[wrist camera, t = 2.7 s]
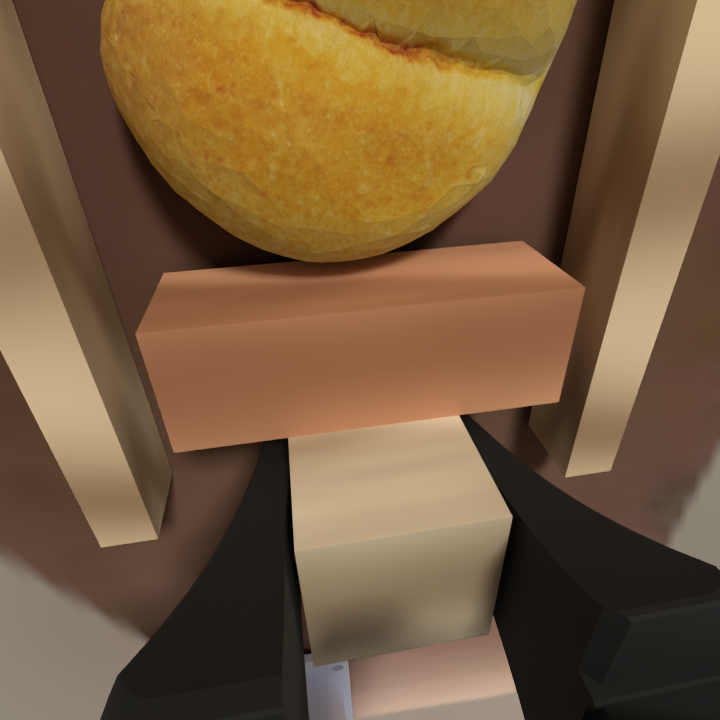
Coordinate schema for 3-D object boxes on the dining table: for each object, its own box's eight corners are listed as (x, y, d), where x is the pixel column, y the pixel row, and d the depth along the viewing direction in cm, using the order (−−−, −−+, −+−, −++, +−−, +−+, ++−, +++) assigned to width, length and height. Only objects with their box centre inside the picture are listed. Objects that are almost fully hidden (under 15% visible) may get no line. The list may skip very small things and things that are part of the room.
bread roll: (102, 176, 11) (28, 230, 8) (180, -447, 7) (96, -914, 4) (424, 280, 14) (474, 354, 10) (616, -127, 10) (804, -223, 6)
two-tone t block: (492, 443, 16) (591, 614, 11) (219, 481, 15) (196, 688, 10) (522, 240, 13) (690, 364, 8) (163, 272, 12) (84, 441, 7)
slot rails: (568, 419, 17) (610, 470, 15) (123, 480, 15) (101, 547, 13) (754, -296, 8) (913, -409, 6) (-223, -344, 7) (-445, -522, 5)
